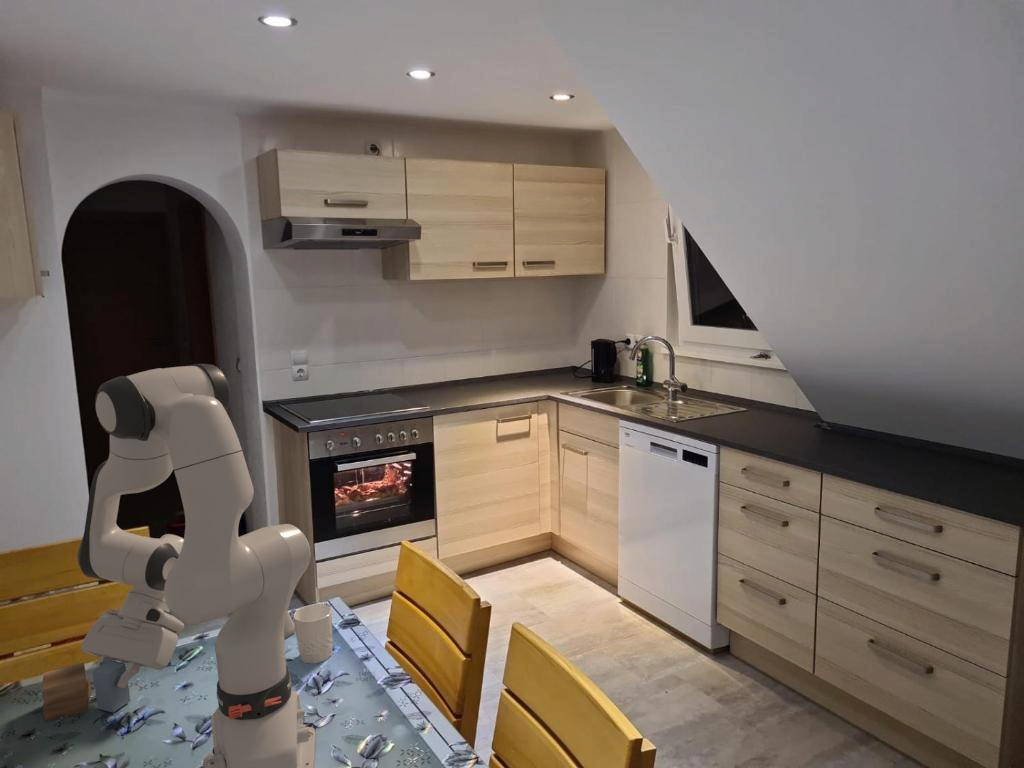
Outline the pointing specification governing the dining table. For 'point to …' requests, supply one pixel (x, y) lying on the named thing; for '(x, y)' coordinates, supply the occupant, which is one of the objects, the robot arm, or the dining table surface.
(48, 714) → the tower base
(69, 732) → the dining table surface
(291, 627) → the flask
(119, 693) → the pillar
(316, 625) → the white cup
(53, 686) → the tower top
